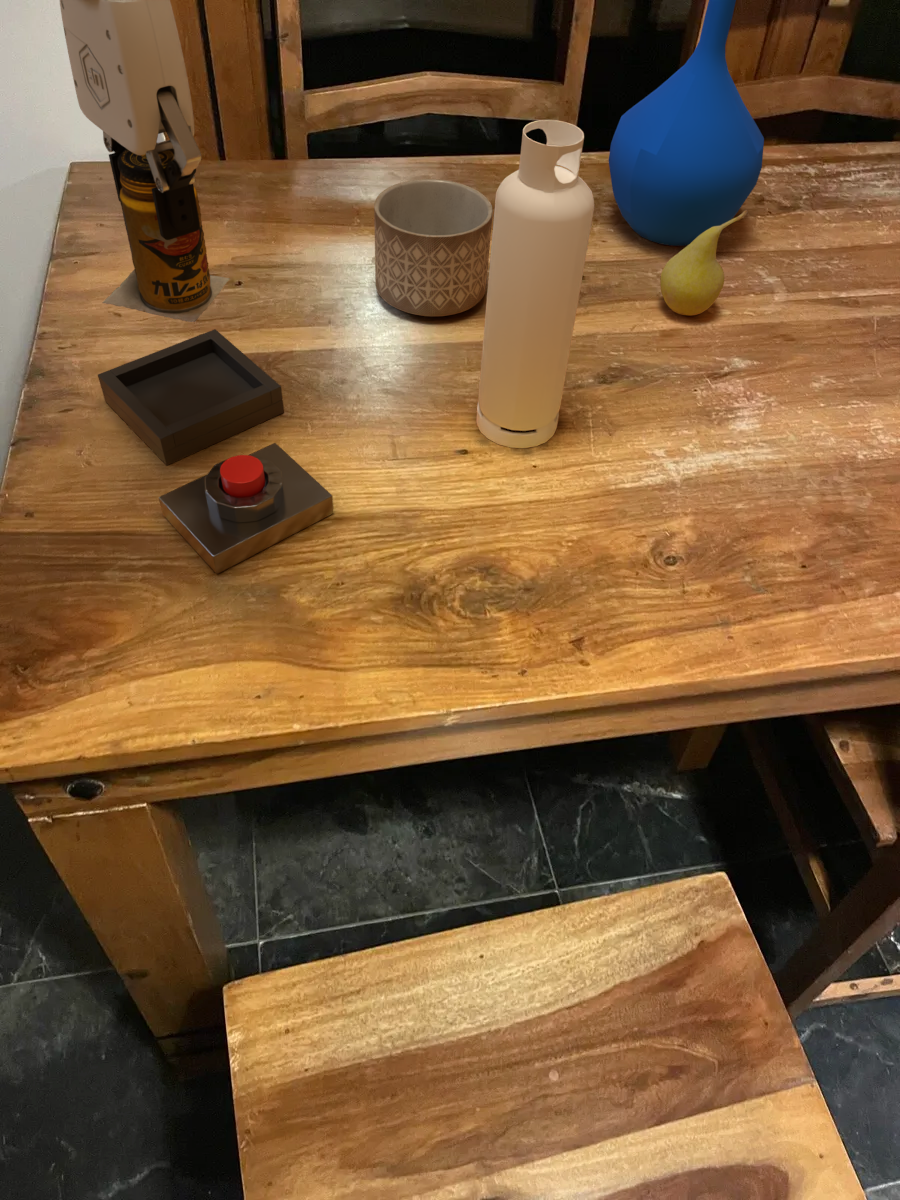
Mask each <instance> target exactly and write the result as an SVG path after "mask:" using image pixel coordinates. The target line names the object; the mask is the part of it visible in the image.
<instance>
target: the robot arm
mask: <svg viewBox="0 0 900 1200" xmlns="http://www.w3.org/2000/svg"><path fill="white" fill-rule="evenodd" d="M59 7H60V8H59V9H60V13H61V19H62V20H61V21H62V27H63V32H64V38H65V43H66V48H67V49H66V50H67V53H68V59H69V65H70V69H71V75H72V79H73V84H74V89H75V94H76V98H77V99H76V100H77V103H78V106H79V108H80V110H81V112H82V114H83V115H84V116H85V117H86V119H88V121H90V122H91V123H92V124H94V125H95V126H96V127H97V128H98V129H100V130H101V131H102V135H103V136H102V139H103V144H104V146H105V149H106V150H107V152H109V153H108V159H109V163H110V167H111V172H112V176H113V181H114V186H115V190H116V195H117V199H118V201H119V202H120V190H121V189H122V185H121V182H120V171H119V168H118V164H117V163H118V161H117V160H118V157H119V155H120V154H121V153H122V152H123V151H124V150H126V149H128V150H129V151H131V152H133V153H134V154H137V155H145V154H146V157H147V160H148V163H149V166H150V169H151V172H152V175H153V178H154V181H155V184H156V186H157V187H155V188H152V194H153V199H154V204H155V209H156V214H157V219H158V225H159V230H160V234H161V236H162V237H163V238H164V239H165V240H171V239H174V238H177V237H180V236H183V235H186V234H189V233H192V232H195V231H197V230H199V228H200V223H199V217H198V210H197V204H196V198H195V192H194V187H195V185H194V184H196V173H197V168H198V166H199V164H200V163H201V161H202V152H201V151H200V148H199V146H198V144H197V141H196V139H195V137H194V136H195V117H194V107H193V101H192V94H191V90H190V83H189V78H188V73H187V67H186V62H185V58H184V53H183V48H182V43H181V40H180V34H179V31H178V26H177V22H176V17H175V14H174V10H173V5H172V2H171V0H59ZM163 133H165V134H166V135H167V137H168V139H167V140H163V141H159V142H158V138H159V134H160V135H161V134H163ZM172 149H173V151H174V156H173V157H174V159H173V160H172V161H169V162H168V163H167V165H166V167H165V169H164V168H163V165H162V162H161V159H160V156H159V153H161V152H165V151H169V150H172Z"/></svg>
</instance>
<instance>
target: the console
mask: <svg viewBox="0 0 900 1200" xmlns="http://www.w3.org/2000/svg"><path fill="white" fill-rule="evenodd" d="M248 455H249V456H253V457H255V458H257V459H259V460H260V461H261V463H262V464H263V469H264V476H265V486H264V488H263V490H262V491H261V492H260V493H258V494H256V495H254V496H252V497H243V498H236V497H232V496H230V495H228V494H227V493H226V492H225V491H224V489H223V485H222V480H221V474H220V468H221V465H222V464H223V463H224V462H225V461H226V460H227V459H228V458H227V459H224V460H222V461H220V462H218V463H215V464H214V465H213V466H212V467H211V469H210V470H209V471H208V473H207V474H204V475H203V476H200V477H199V478H196V479H194V480H192V481H189V482H188V483H185V484H184V485H182V486H179V487H177V488H175V489H173V490H171V491H169V492H167V493H164V494H162V495H160V496H158V501H159V504H160V509H161V513H162V516H163V517H164V518H165V520H167V521H168V522H169V524H171V526H172V527H173V528H174V529H175V530H176V531H177V532H178V533H179V534H180V536H182V538H183V539H184V540H185V541H186V542H187V543H188V544H189V545H190V547H191V548H193V550H194V551H195V552H196V553H197V554H198V555H199V557H200V558H201V559H202V560H203V561H204V562H205V563H206V564H207V565H208V566H209V567H210V568H211V570H212V571H213V572H214V573H215V574H216V575H219V574H221V573H222V572H224V571H226V570H229V569H230V568H232V567H234V566H236V565H238V564H239V563H242V562H243V561H245V560H248V559H249V558H251V557H253V556H255V555H257V554H259V553H260V552H263V551H265V550H266V549H268V548H270V547H272V546H274V545H276V544H278V543H280V542H281V541H284V540H285V539H287V538H289V537H291V536H293V535H295V534H297V533H298V532H300V531H303V530H304V529H306V528H308V527H310V526H312V525H314V524H316V523H317V522H321V521H322V520H324V519H325V518H328V517H329V516H331V515H333V514H334V500H333V499H334V498H333V495H332V494H331V492H329V491H328V489H326V488H325V487H324V486H323V485H322V484H321V483H319V482H318V481H317V480H316V479H315V478H314V477H313V476H312V475H311V474H310V473H308V471H307V470H306V469H304V468H303V467H302V466H301V465H300V464H299V463H298V462H297V461H295V460H294V458H292V457H291V456H290V455H289V454H288V453H287V452H286V451H284V449H283V448H282V447H281V446H280V445H278V444H277V443H276V442H274V443H271V444H268V445H267V446H264V447H263V448H261V449H258V450H256V451H254V452H251V453H250V454H248Z"/></svg>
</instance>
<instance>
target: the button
mask: <svg viewBox="0 0 900 1200" xmlns="http://www.w3.org/2000/svg"><path fill="white" fill-rule="evenodd" d="M249 455H250V454H238V455H234V456H231V457H229V458H227V460H226V459H225V460H226V461H225V462H224V463H223V464H222V465H221V468H220V474H221V480H222V485H223V489H224V491H225V492H226V493H227V494H228V495H230V496H232V497H236V498H243V497H252V496H254V495H256V494H258V493H260V492H261V491H262V490H263V488H264V486H265V476H264V469H263V464H262V463H261V461H260V460H259V459H257V458H255V457H253V456H249Z"/></svg>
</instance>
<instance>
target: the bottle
mask: <svg viewBox="0 0 900 1200" xmlns="http://www.w3.org/2000/svg"><path fill="white" fill-rule="evenodd" d="M537 129H540V130H542V131H543V133H544V134H545V136H546V137H545V138H546V144H545V143H541V142H538V141H535V140H533V139H532V138H529V137H528V136H527V133H529V132H531V131H533V130H537ZM584 140H585V133H584V131H583V130H582V129H581V128H580V127H578V126H577V125H575V124H573V123H569V122H567V121H562V120H558V119H539V120H535V121H531V122H528V123H526V125H525V126H524V127H523V129H522V136H521V146H520V156H519V165H518V169H517V170H515V171H513V172H512V173H510V174H509V175H507V176H506V177H505V178H504V179H503V180H502V181H501V182H500V183H499V186H498V187H497V190H496V191H495V202H494V209H493V220H492V232H491V234H492V235H491V243H490V255H489V266H488V278H487V289H486V304H485V314H484V325H483V337H482V351H481V362H480V372H479V385H478V394H477V396H478V398H477V408H476V421H475V422H476V423H475V424H476V425H477V428H478V430H479V432H480V433H481V434H482V435H483V436H484V437H485V438H486V439H487V440H489V441H491V442H492V443H495V444H497V445H500V446H503V447H506V448H511V449H512V448H513V449H527V448H534V447H537V446H541V445H542V444H545V443H547V442H548V441H549V440H550V439H552V438H553V437H554V435H555V434H556V433H555V432H556V431H557V428H558V423H559V417H560V413H559V411H560V408H561V405H562V400H563V395H564V387H565V381H566V375H567V369H568V364H569V359H570V352H571V347H572V340H573V334H574V330H575V329H574V328H575V323H576V317H577V312H578V311H577V310H578V306H579V299H580V294H581V288H582V282H583V275H584V271H585V264H586V258H587V252H588V247H589V241H590V235H591V229H592V223H593V218H594V212H595V199H594V195H593V191H592V189H591V188H590V186H589V185H588V183H586V181H585V180H583V178H582V177H580V176H579V173H580V167H581V166H580V165H581V159H582V152H583V147H584ZM506 429H507V430H506ZM509 430H511V431H509ZM533 430H534V431H533ZM513 431H515V432H513ZM516 431H520V432H516ZM521 431H522V432H521ZM526 431H529V432H526Z"/></svg>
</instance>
